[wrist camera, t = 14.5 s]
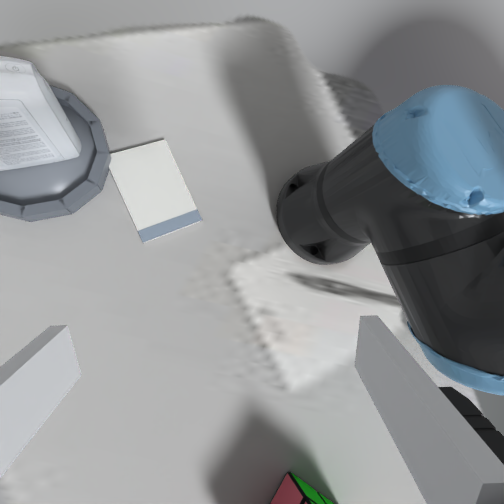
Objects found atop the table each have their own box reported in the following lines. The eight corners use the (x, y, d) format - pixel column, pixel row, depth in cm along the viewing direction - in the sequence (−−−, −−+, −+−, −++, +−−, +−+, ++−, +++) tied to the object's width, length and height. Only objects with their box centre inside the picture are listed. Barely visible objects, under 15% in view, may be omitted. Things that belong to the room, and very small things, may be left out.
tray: (91, 87, 35) (87, 75, 33) (124, 203, 34) (121, 198, 32) (-67, 97, 30) (-84, 83, 28) (-34, 234, 29) (-48, 230, 27)
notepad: (165, 141, 37) (165, 139, 36) (201, 221, 37) (202, 219, 36) (104, 157, 34) (103, 155, 34) (143, 243, 34) (143, 242, 33)
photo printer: (77, 126, 33) (25, 35, 21) (87, 159, 33) (42, 85, 21) (-26, 141, 30) (-154, 42, 18) (-15, 177, 29) (-137, 101, 18)
